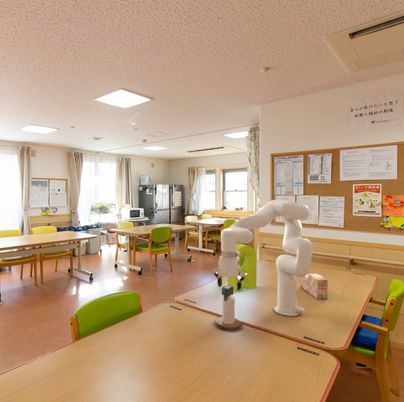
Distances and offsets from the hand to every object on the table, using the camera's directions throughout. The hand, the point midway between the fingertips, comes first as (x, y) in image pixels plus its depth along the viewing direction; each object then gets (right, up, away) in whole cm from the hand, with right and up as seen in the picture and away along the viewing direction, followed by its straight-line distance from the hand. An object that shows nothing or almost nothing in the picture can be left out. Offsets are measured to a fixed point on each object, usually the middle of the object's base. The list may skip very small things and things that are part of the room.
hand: (229, 287), depth 145 cm
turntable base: (0, -19, +1) cm, 19 cm away
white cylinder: (0, -18, 0) cm, 18 cm away
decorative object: (+23, -17, +55) cm, 61 cm away
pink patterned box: (+67, -17, +45) cm, 82 cm away
